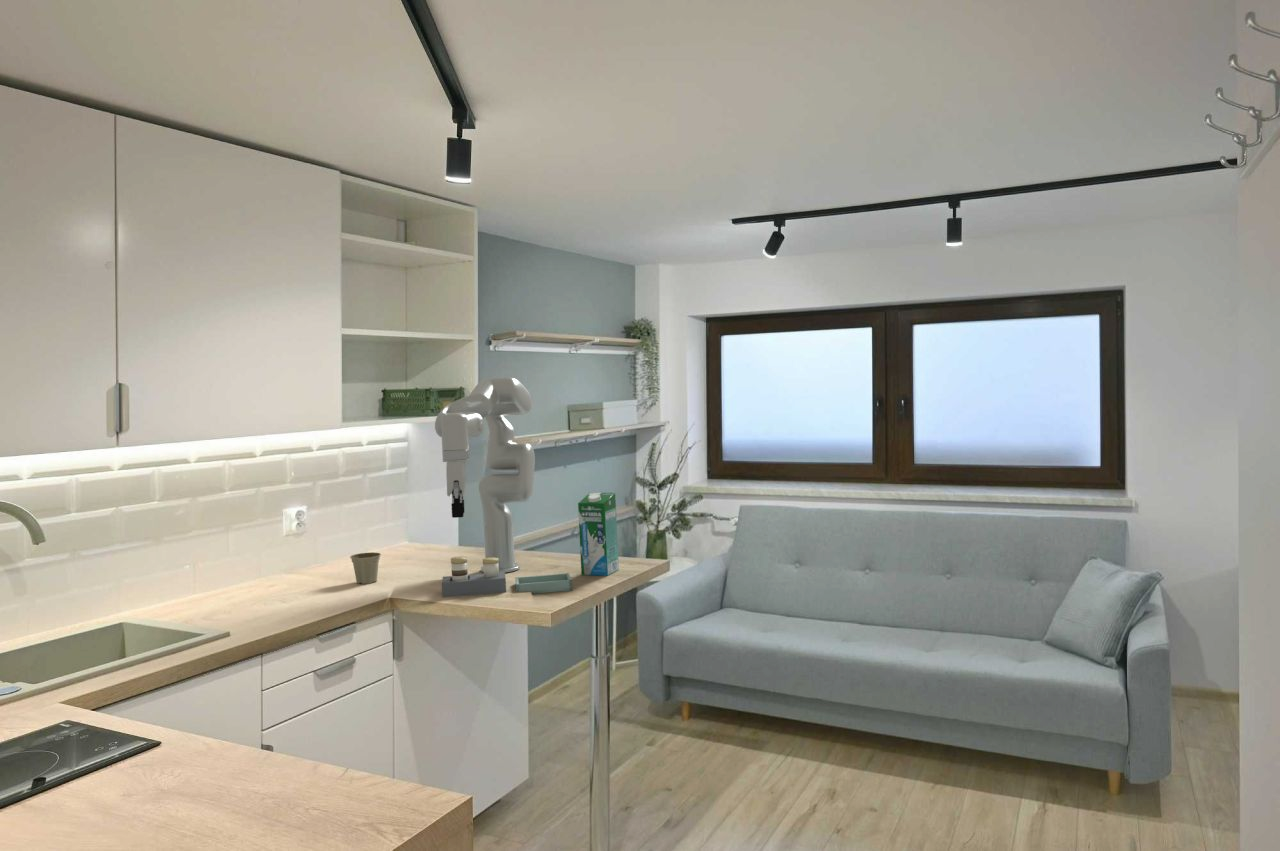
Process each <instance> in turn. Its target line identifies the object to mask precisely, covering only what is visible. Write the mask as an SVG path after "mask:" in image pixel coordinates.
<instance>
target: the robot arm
mask: <svg viewBox="0 0 1280 851" xmlns="http://www.w3.org/2000/svg"><path fill="white" fill-rule="evenodd" d="M532 400H533V399H532V396H531V393H530V392H529V390H528V389H527V388H526V387H525V386H524V384H522V383H521V381H520V380H518V379H517V378H514V377H511V376H507V377H505V376H504V377H489V378H488V377H487V378H484V379H482V380H480V381H479V382H478V383H477V384H476V386H475V387H474V388H473V390H472V391H471V392H470V393H469V394H468V395H467V396H464V397H461V398H459V399H457V400H454V401H452V402H450V403H448V404H447V405H446V406H444V407H443V408H442V409H441V410H440V411H439V413H438V415H437V417H436V418H435V421H434V431H435V433H436V434H437V436H439V437H440V438H441V450H442V451H441V452H442V454H441V455H442V462H443V463H446V464H445V465H446V466H445V467H446V469H445V470H446V473H445V474H446V495H447V497H450V496H451V505H450V506H451V518H455V519H456V518H457V519H458V518H464V514H465V499H464V495H465V493H466V462H469V461H470V449H469V439H470V438H476V437H477V438H478V437H479V436H480V435H481V434H483V432H484V429H485V421H486V424H487V427H488V432H489V434H488V442H487V452H486V453H487V454H486V466H487V468H488V469H489V470H490V471H492V472H497V473H490V474H486V475H484V476H482V478H481V479H480V480H479V482H478V493H479V497H480V501H481V507H482V509H481V510H482V519H483V522H482V524H483V541H484V543H483V544H484V559H485V558H498V559H499V562H498V566H499V572H505V574H506V573H512V572H515V571H518V570H519V569H520V568H521V567H520V566H521V565H520V564H519V563H517V562H516V560H515V559H516V558H515V557H516V556H515V540H514V537H515V536H514V521H513V520H514V519H513V518H514V517H513V514H512V512H511V510H510V508H509V507H508V506H507V505H506V504H511V503H512V504H516V503H517V504H519V503H521V504H522V503H526V502H528V501H529V500H530V499H531V498H532V496H533V495H532V494H533V489H534V480H535V479H534V478H535V476H534V475H535V466H536V456H535V455H536V454H535V450H534V448H533V446H532V445H531V444H530V443H527V442H515V435H516V432H515V429H514V426H513V425H512V424H511V422H510V421H508V419H507V418H506V417H505V416H522V415H527V414H529V413H530V411H531V409H532V406H533V401H532ZM484 419H485V421H484ZM498 472H500V473H498ZM501 472H502V473H501ZM503 472H505V473H503ZM508 472H509V473H508ZM510 472H513V473H510ZM514 472H518V473H514ZM480 570H481V573H484V572H483V565H482V566H481V567H480Z"/></svg>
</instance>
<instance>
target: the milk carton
mask: <svg viewBox="0 0 1280 851" xmlns="http://www.w3.org/2000/svg"><path fill="white" fill-rule="evenodd" d="M616 499H617V498H616V492H589V493H588V494H587V495H585V497H583V498H582V499H581V500H580V501H578V503H577V505H578V507H577V508H578V510H577V511H578V526H579V527H578V529H579V532H578V533H579V548H580V552H579V553H580V571H581V572H580V573H581V574H580V575H582V576H604V577H608V576H609V575H612V574H613V573H615V572H617V571H619V549H618V547H619V546H618V527H617V526H618V524H617V506H616V505H617V504H616Z"/></svg>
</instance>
